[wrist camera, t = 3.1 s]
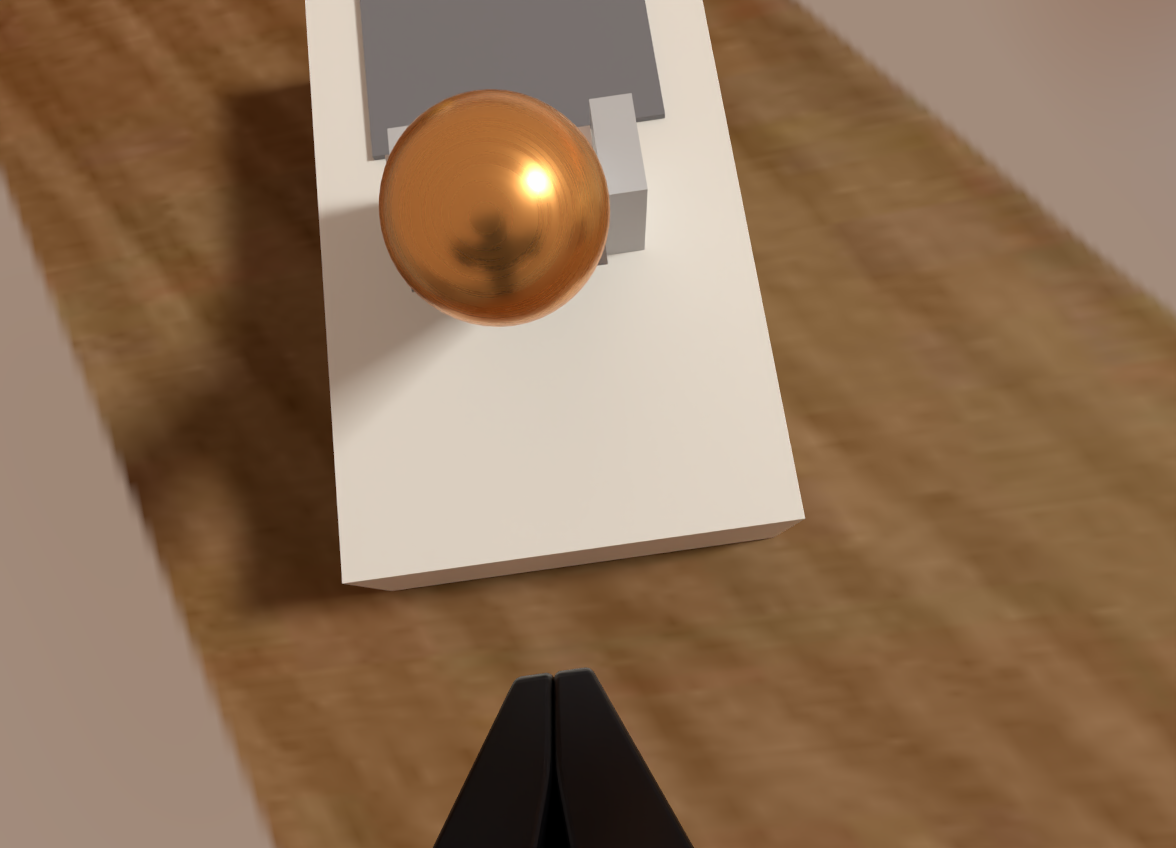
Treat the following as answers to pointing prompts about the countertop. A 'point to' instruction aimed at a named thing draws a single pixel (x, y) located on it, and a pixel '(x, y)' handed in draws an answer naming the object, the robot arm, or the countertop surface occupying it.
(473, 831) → the robot arm
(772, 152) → the countertop surface
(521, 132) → the switch lever
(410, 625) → the countertop surface
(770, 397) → the switch box
